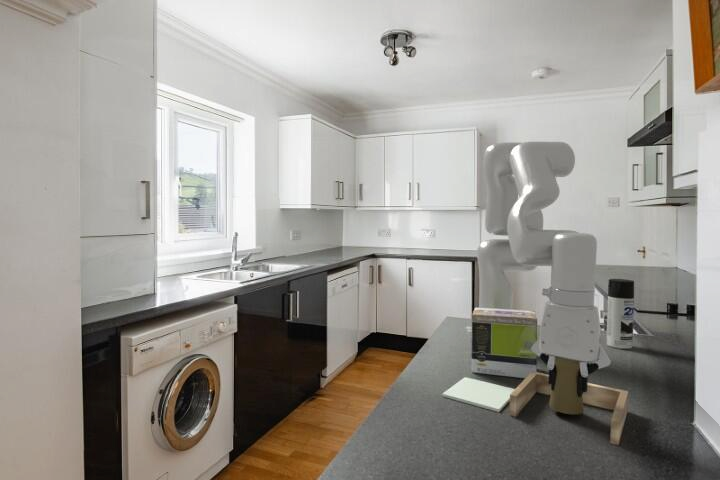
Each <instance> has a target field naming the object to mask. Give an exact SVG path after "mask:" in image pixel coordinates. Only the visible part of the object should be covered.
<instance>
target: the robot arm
mask: <svg viewBox="0 0 720 480" xmlns="http://www.w3.org/2000/svg"><path fill="white" fill-rule="evenodd" d="M575 164H576V157H575V152H574V150H573V148H572V147H571V145H570V144H568V143H566V142H564V141H526V142H525V141H524V142H498V143H493V144H491V145H489V146H488V147H487V148H486V149H485V151H484V154H483V171H484V172H483V173H484V176H485V179H486V180H485V181H486V185H487V193H486V203H485V204H486V205H485V206H486V207H485V214H484V215H485V219H484V225H485V229H486V232H487V233H488V234H491V235H494V236H503V237H504V236H506V237H507V238H496V239H495V238H493V239H491V238H490V239H485V240H483V241H482V242H480V243H479V244H478V247H477V249H476V257H477V264H478V274H479V277H478V278H479V280H478V281H479V283H478V284H479V289H478V290H479V293H478V294H479V296H478V308H495V309H511V310H513V304H514V303H513V300H514V299H513V298H514V295H513V294H514V287H513V284H512V282H511V280H510V279H509V278H508V277H507V275H506V274H505V273H506V272H507V273H509V272H512V273H513V272H521V273H522V272H523V273H524V272H525V273H526V272H527V273H528V272H533V271H534V270H536V268H538V267H551V270H550V271H551V272H550V287H549V288H543V289H542V291H541V292H542V293H541V295H542V296H545V297H548V301H546V302H545V303H544V306H543V311H542V314H541V322H540V330H539V337H538V338H537V341H536V342H535V344H534V345H533V346H532V347H531V350H532V351H533V352H534V353H535V354H536V355H537V357H539V358H540V360H542V361H543V363H544V364H545V366H546V368H547V369H548V375H549V384H551V390H554V386H555V381H556V366H555V362H554V360H555V357H559V358H564V359H569V360H574V361H579V363H580V375H578V380H577V395H578V397H581V396H582V394H583V392H587V385H588V383H589V381H588V380H589V375H591V374H593V373H594V372H596V371H598V370H599V369H603V368H606V367H609V366H610V365H611V362H612V361H611V359H610V358H609V356H608V354H607V353H606V351H605V350H604V348H603V347H602V345H601V323H600V315H599V308H598V307H597V306H596V305H595V290H596V289H595V288H596V272H597V269H596V268H597V253H598V252H597V251H598V250H597V249H598V247H597V246H598V242H597V238H596V236H594V235H593V234H590V233H586V232H585V233H582V232H578V231H576V230H571V229H568V230H566V229H544V215H543V214H544V213H543V211H542V210H543V209H546V208H548V207H550V206H551V205H553V204H554V203H555V202H556V201H557V200H558V198H559V196H560V191H561V190H560V186H559V184H558V180H557V178H565V177H568V176H569V175H571V174H572V172H573V170H574V168H575ZM465 333H466V335H472V326H466V327H465ZM598 359H599V360H598Z"/></svg>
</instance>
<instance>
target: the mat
mask: <svg viewBox="0 0 720 480" xmlns="http://www.w3.org/2000/svg"><path fill="white" fill-rule="evenodd" d="M515 389H516V388H512V387H507V386H502V385H499V384H495V383H492V382H487V381H482V380H479V379H475V378H470V377H466V376H464V377H463V378H461V379H460V380H459V381H457V382H456V383H455V384H453V385H452V386H451V387H450V388H449V387H448V389H447V390H445V391H444V392H442V394H441V396H442V397H443V398H447V399H450V400H453V401H457V402H460V403H461V402H462V403H464V404H469V405H472V406H474V407H475V406H476V407H479V408H483V409H487V410H490V411H493V412H496V413H497V412H498V413H500V412H501V411H502V409H503V408H505V406H506V405H507V404H508V403H510V394H511V393H512V392H513V391H514V390H515Z"/></svg>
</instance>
